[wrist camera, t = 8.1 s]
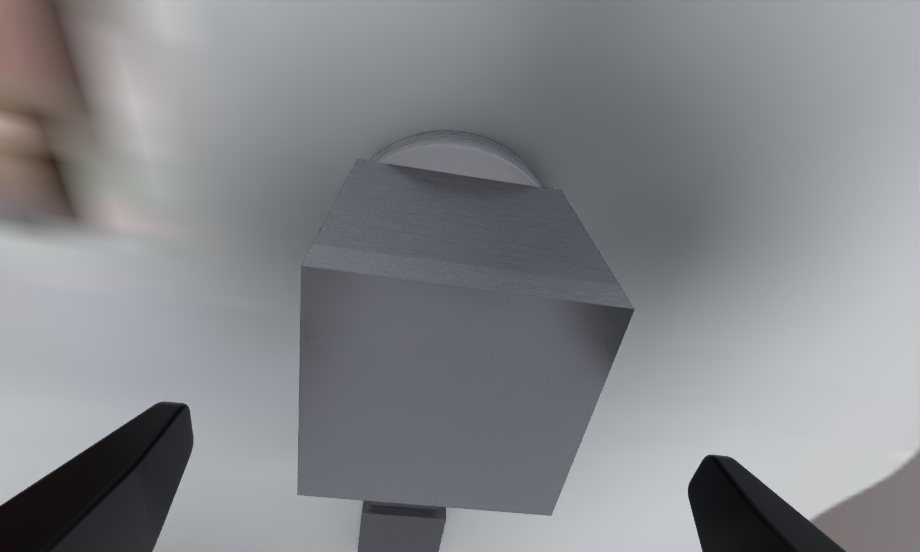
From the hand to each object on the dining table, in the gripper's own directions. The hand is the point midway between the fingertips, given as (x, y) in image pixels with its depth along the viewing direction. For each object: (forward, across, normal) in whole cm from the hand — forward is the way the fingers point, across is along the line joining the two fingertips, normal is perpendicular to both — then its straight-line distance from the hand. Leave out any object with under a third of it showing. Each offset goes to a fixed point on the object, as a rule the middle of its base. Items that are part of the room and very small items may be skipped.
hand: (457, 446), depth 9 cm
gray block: (+7, 0, 0) cm, 7 cm away
